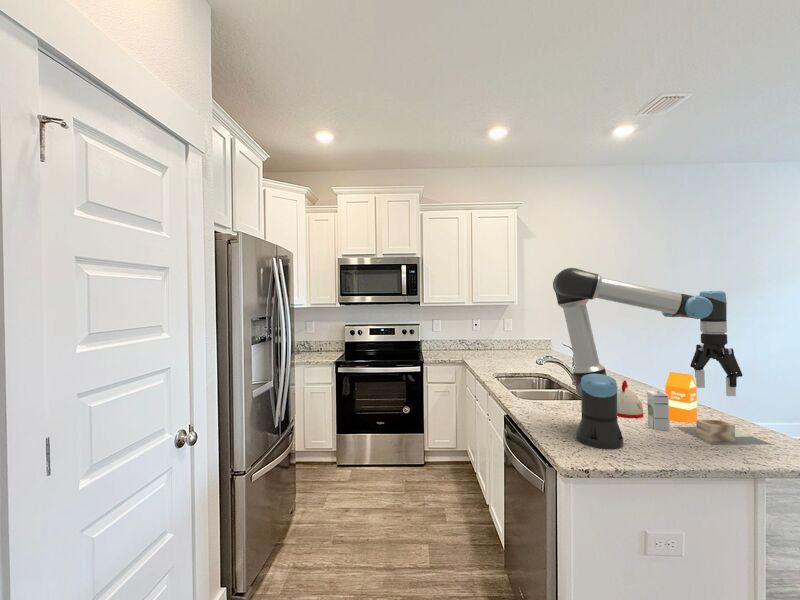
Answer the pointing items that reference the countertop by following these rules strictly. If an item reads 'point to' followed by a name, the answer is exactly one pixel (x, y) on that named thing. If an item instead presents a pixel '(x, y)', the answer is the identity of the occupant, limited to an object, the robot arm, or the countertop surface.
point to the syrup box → (658, 410)
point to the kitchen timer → (628, 403)
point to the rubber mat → (739, 440)
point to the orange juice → (681, 397)
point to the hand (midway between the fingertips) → (715, 391)
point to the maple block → (715, 430)
